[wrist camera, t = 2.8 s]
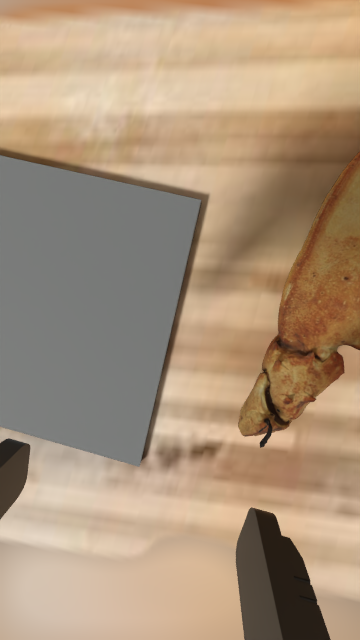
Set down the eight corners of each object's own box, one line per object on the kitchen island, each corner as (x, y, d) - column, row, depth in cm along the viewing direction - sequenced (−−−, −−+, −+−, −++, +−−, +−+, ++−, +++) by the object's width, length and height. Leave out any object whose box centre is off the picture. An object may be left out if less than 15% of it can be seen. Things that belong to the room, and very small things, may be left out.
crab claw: (181, 406, 13) (420, 58, 11) (193, 385, 18) (360, 142, 16) (303, 499, 11) (585, 120, 10) (279, 448, 16) (466, 190, 15)
